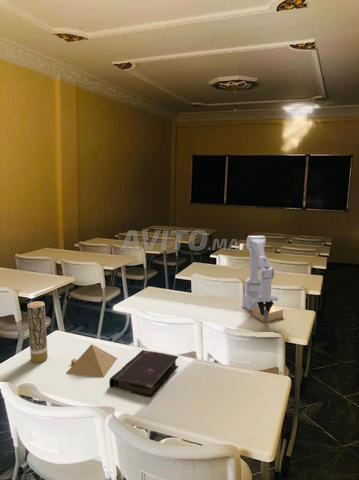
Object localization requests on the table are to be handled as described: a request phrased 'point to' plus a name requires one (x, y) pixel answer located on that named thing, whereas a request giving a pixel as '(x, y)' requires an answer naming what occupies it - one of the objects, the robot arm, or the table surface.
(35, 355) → the bark-patterned cylinder
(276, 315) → the carton
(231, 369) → the table surface
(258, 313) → the carton flap
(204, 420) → the table surface
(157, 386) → the diary
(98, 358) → the model pyramid
